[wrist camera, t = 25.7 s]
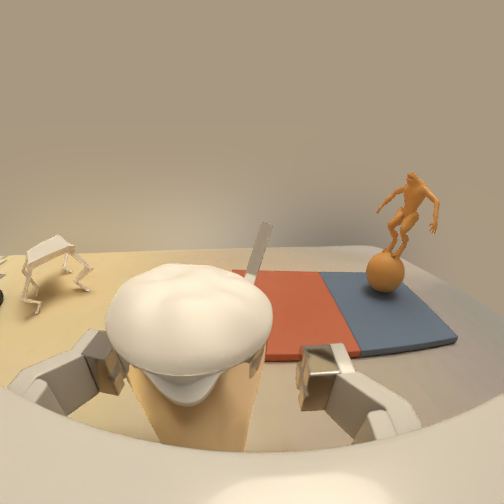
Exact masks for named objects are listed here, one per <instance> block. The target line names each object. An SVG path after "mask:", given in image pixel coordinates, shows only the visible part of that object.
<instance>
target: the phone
mask: <svg viewBox="0 0 504 504" xmlns="http://www.w3.org/2000/svg"><path fill="white" fill-rule="evenodd" d="M3 297H4V296H3V293H2V291H1V290H0V304H1V302H2V300H3Z"/></svg>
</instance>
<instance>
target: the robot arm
mask: <svg viewBox="0 0 504 504" xmlns="http://www.w3.org/2000/svg"><path fill="white" fill-rule="evenodd" d="M299 359H300V361H299V362H298V363H297V367H296V386H297V389H298V390H300V393H299V397H298V398H299V403H300V409H301V411H319V410H325V412H326V413H327V414H328V415H329V416H330V417H331V418H332V419H333V420H334V421H335V422H336V423H337V424H338V425H339V426H340V427H341V428H342V429H343V430H344V431H345V432H346V433H348V434H349V435H350V436H351V437H352V438H353V439H354V440H353V442H352V444H351V445H347V446H341V447H334V448H326V449H317V450H307V451H293V452H266V453H253V452H226V451H212V450H202V449H193V448H185V447H179V446H172V445H166V444H161V443H155V442H150V441H146V440H141V439H137V438H133V437H128V436H125V435H121V434H117V433H113V432H110V431H107V430H103V429H100V428H97V427H94V426H91V425H88V424H85V423H82V422H79V421H76V420H74V419H71V418H68V417H67V416H68V415H69V414H70V413H72V412H73V411H75V410H76V409H77V408H79V407H80V406H82V405H83V404H84V403H86V402H87V401H89V400H90V399H92V398H93V397H94V396H96V395H97V394H98V393H99V392H102V393H107V394H111V395H116V396H119V394H120V392H121V390H122V388H123V386H124V381H123V379H124V378H126V376H125V374H124V372H123V370H122V368H121V366H120V363H119V361H118V359H117V357H116V354H115V352H114V350H113V347H112V345H111V342H110V340H109V338H108V335H107V332H106V331H102V330H97V329H88V330H87V331H86V333H85V334H84V335H83V336H82V337H81V339H80V340H79V341H78V342H77V343H76V345H75V346H74V347H73V348H72V349H71V351H70V352H69V351H65V352H63V353H61V354H58V355H56V356H54V357H51V358H49V359H47V360H44V361H42V362H40V363H37V364H35V365H33V366H30V367H28V368H25V369H23V370H21V371H20V373H19V374H18V375H17V376H16V377H15V379H14V380H13V381H12V382H11V383H10V385H9V386H8V387H7V388H5V387H4V386H2V385H0V504H504V393H502V394H500V395H498V396H496V397H494V398H493V399H491V400H489V401H487V402H485V403H483V404H481V405H478V406H476V407H474V408H472V409H470V410H467V411H465V412H463V413H461V414H458V415H456V416H453V417H451V418H448V419H445V420H443V421H440V422H437V423H434V424H432V425H429V426H426V427H423V426H422V424H421V422H420V420H419V418H418V416H417V414H416V412H415V410H414V409H413V407H412V405H411V403H410V402H409V401H407V400H405V399H404V398H402V397H400V396H399V395H397V394H395V393H394V392H392V391H390V390H389V389H387V388H385V387H384V386H382V385H381V384H379V383H377V382H376V381H374V380H373V379H371V378H369V377H368V376H366V375H365V374H363V373H361V372H356V370H355V368H354V366H353V364H352V361H351V359H350V357H349V355H348V352H347V350H346V348H345V346H344V344H343V343H334V344H325V345H301V346H300V349H299Z"/></svg>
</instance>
